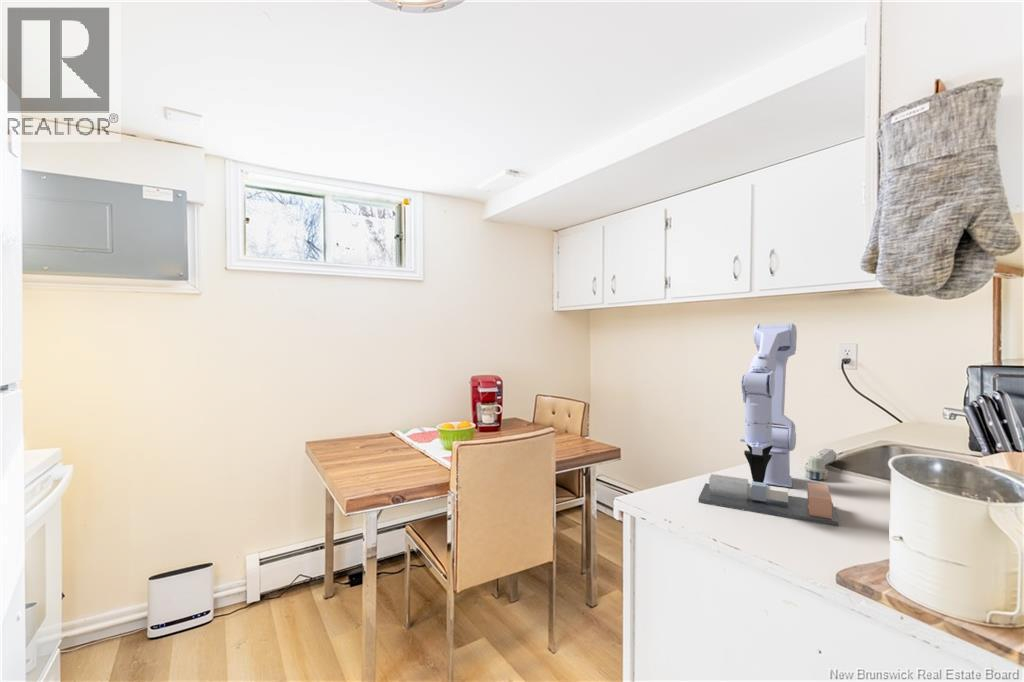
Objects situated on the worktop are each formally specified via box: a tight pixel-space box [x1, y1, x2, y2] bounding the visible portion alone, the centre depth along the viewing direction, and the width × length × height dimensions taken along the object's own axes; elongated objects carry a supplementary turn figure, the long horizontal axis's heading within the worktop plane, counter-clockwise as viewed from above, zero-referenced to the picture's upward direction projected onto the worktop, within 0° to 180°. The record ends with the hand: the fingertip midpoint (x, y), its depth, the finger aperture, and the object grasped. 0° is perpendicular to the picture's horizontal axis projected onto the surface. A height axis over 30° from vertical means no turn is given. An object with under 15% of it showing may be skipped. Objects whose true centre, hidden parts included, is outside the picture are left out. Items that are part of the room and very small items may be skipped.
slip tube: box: [747, 479, 789, 502], centre depth 108 cm, size 4×16×4 cm, turn 58°
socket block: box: [806, 482, 833, 519], centre depth 101 cm, size 10×4×4 cm, turn 148°
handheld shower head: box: [803, 448, 837, 481], centre depth 131 cm, size 5×7×25 cm
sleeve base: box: [698, 473, 839, 527], centre depth 107 cm, size 12×28×5 cm, turn 58°
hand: (758, 476), depth 107 cm, fingers open, 7 cm apart
